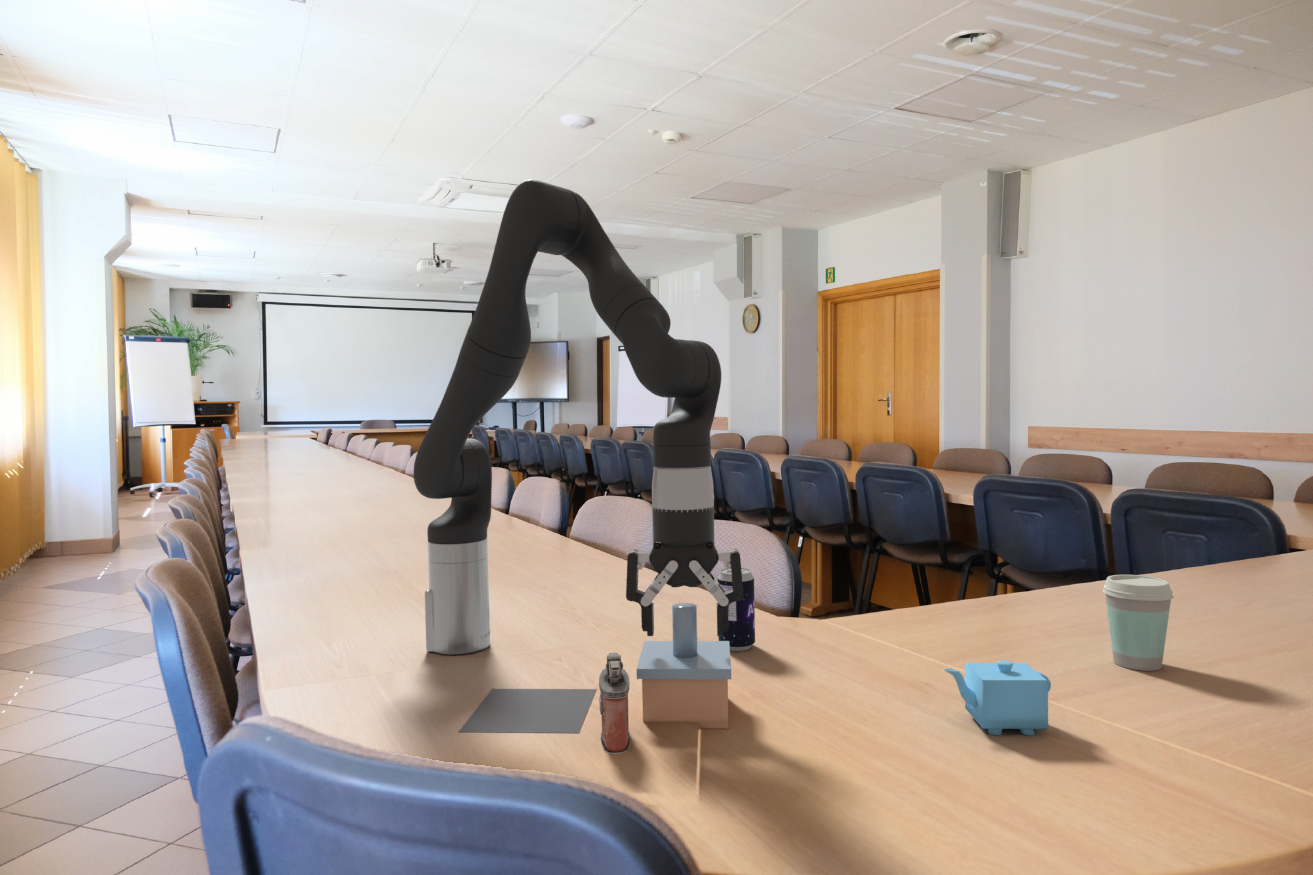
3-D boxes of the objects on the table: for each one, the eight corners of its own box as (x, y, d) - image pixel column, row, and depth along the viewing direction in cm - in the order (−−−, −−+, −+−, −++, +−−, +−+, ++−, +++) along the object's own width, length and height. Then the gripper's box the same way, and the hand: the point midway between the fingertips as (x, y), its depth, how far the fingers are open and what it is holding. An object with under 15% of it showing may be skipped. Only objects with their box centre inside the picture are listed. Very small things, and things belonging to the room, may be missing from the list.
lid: (636, 678, 92) (635, 617, 92) (644, 650, 103) (643, 595, 103) (731, 679, 91) (730, 617, 91) (729, 650, 102) (728, 594, 102)
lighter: (600, 731, 92) (597, 646, 92) (628, 729, 92) (627, 645, 92) (601, 761, 84) (598, 669, 84) (632, 760, 84) (630, 667, 84)
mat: (458, 738, 91) (458, 731, 91) (492, 694, 105) (492, 688, 105) (579, 739, 90) (578, 732, 90) (596, 695, 104) (596, 689, 104)
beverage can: (753, 653, 120) (752, 574, 119) (716, 651, 121) (715, 574, 121) (756, 642, 125) (755, 567, 125) (721, 640, 127) (719, 566, 126)
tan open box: (643, 727, 93) (641, 677, 92) (649, 696, 103) (648, 651, 102) (728, 728, 92) (727, 677, 92) (726, 697, 102) (726, 651, 102)
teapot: (952, 736, 89) (951, 670, 88) (936, 715, 95) (936, 653, 95) (1062, 737, 88) (1061, 670, 88) (1039, 716, 94) (1039, 653, 94)
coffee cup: (1163, 657, 114) (1163, 575, 114) (1181, 677, 106) (1181, 588, 106) (1096, 652, 117) (1096, 572, 116) (1109, 671, 109) (1109, 585, 108)
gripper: (621, 508, 93) (624, 643, 94) (742, 506, 92) (745, 644, 93) (628, 500, 101) (630, 626, 101) (740, 499, 100) (742, 626, 100)
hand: (685, 634), depth 97 cm, fingers open, 8 cm apart
